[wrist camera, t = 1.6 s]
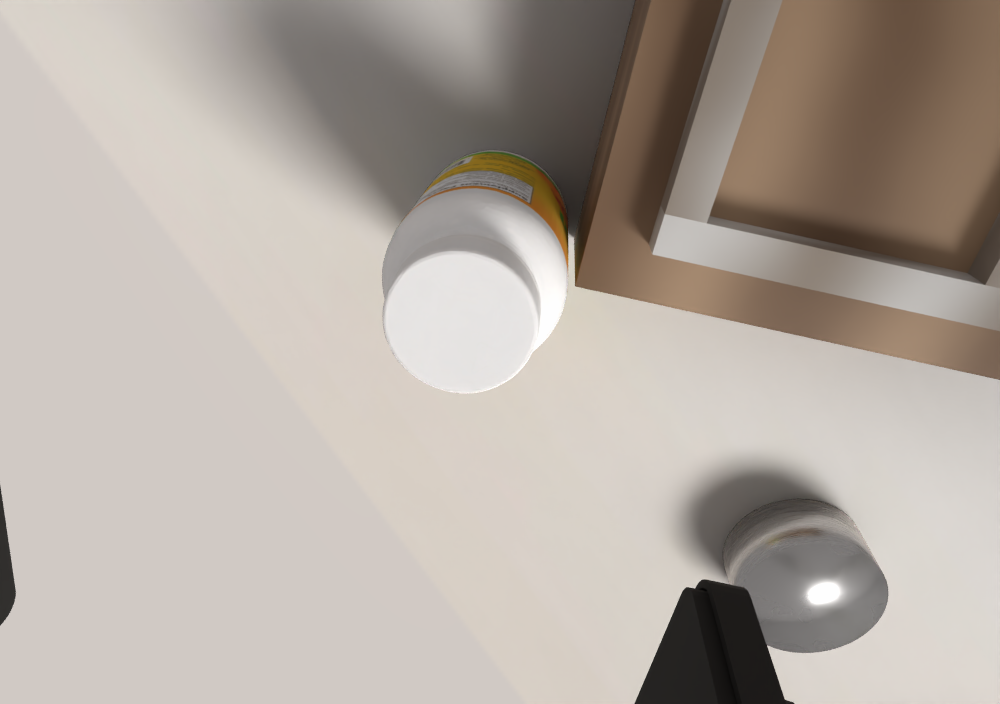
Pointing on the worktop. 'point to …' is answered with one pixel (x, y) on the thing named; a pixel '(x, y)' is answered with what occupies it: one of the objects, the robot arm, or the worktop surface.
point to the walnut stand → (808, 172)
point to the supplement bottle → (477, 273)
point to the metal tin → (806, 575)
